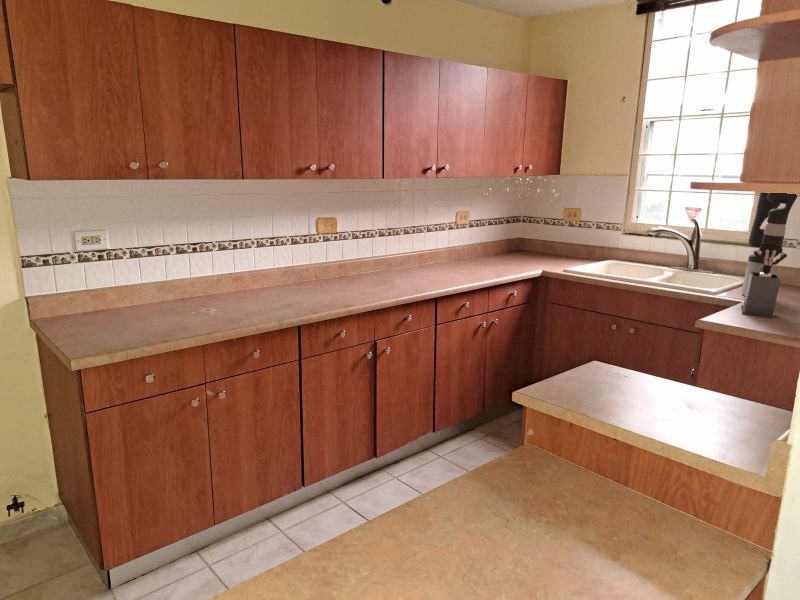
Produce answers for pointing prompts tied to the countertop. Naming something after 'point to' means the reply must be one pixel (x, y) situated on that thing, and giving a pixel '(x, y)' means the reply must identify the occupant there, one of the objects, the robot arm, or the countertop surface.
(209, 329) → the countertop surface
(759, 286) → the dark grey upright box
